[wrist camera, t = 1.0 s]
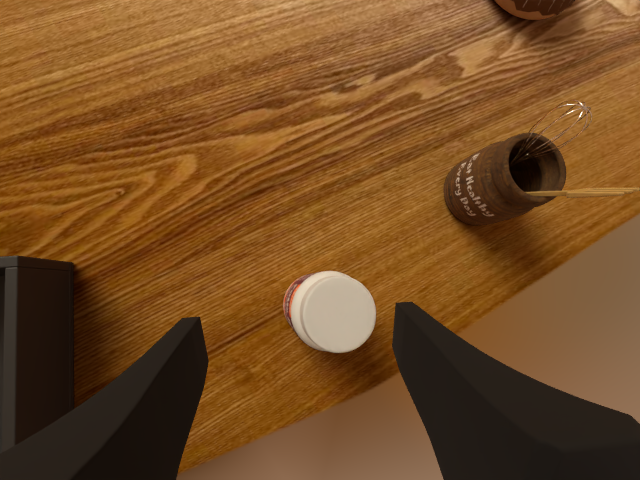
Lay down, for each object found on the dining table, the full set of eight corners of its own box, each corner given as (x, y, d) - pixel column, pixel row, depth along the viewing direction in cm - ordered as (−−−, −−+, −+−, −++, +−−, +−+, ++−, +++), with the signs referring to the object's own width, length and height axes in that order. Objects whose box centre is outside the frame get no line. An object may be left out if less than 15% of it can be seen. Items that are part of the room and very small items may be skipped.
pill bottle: (277, 280, 25) (286, 278, 17) (336, 268, 26) (372, 260, 18) (289, 343, 25) (305, 371, 17) (349, 328, 26) (392, 348, 18)
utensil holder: (489, 156, 30) (635, 75, 19) (509, 222, 30) (673, 182, 18) (432, 168, 29) (551, 88, 17) (452, 237, 29) (589, 203, 17)
